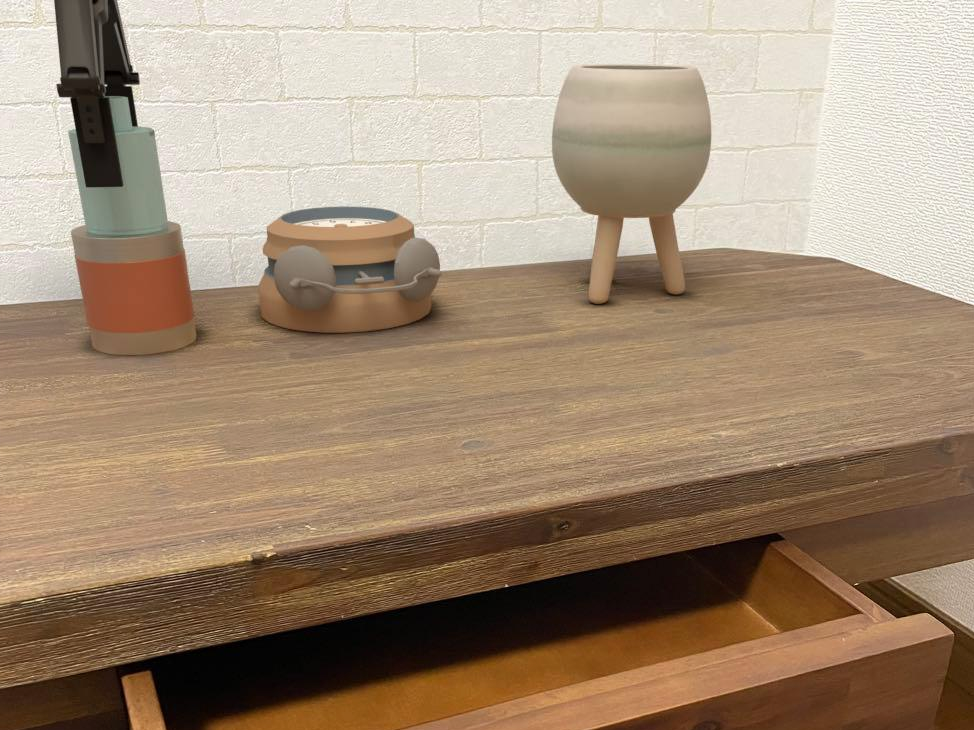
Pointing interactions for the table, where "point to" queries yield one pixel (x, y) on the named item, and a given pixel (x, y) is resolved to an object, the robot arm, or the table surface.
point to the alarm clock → (346, 271)
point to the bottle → (125, 182)
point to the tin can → (135, 291)
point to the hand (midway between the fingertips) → (117, 175)
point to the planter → (632, 155)
